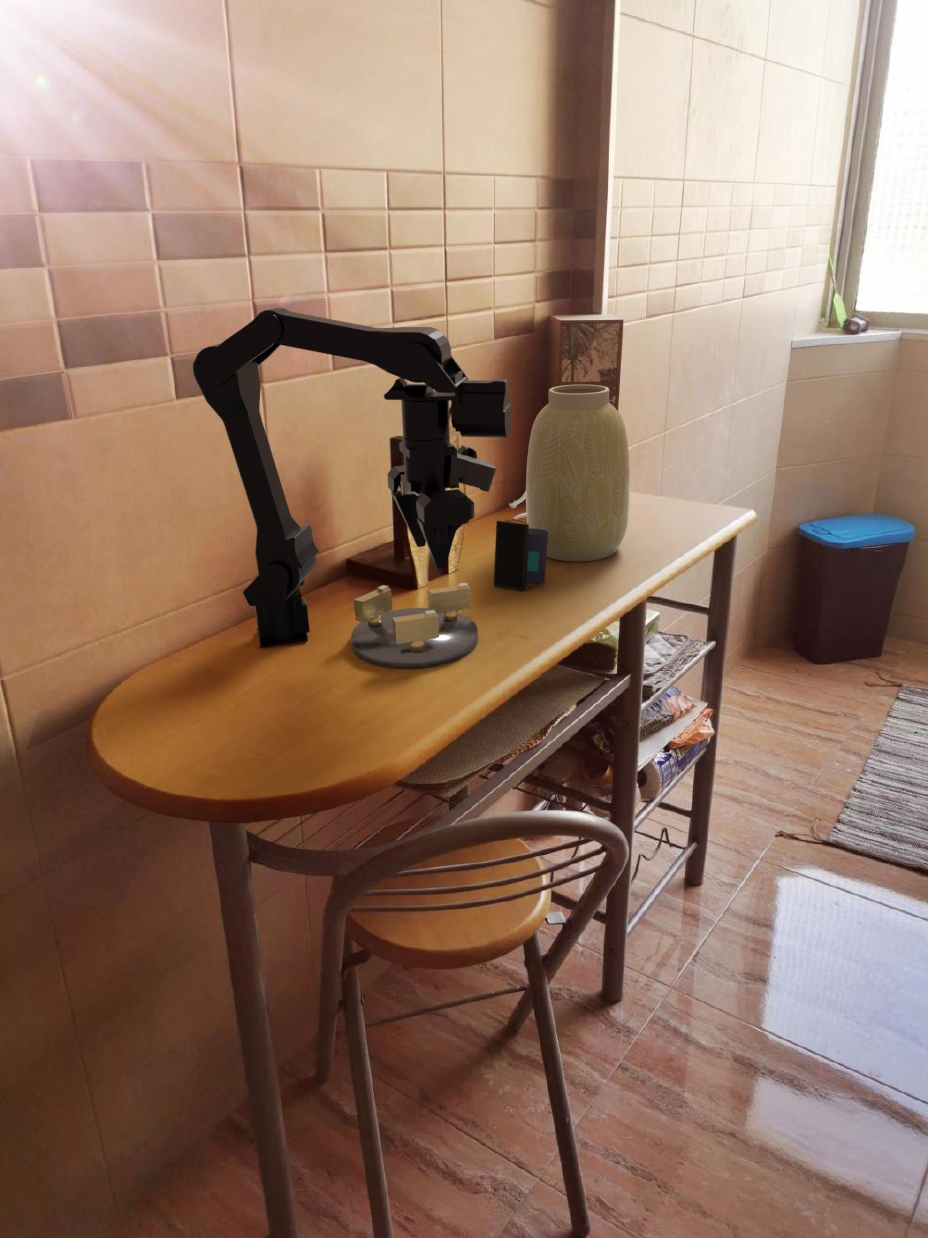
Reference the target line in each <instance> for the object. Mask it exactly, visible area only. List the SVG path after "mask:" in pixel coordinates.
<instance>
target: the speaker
mask: <svg viewBox="0 0 928 1238" xmlns="http://www.w3.org/2000/svg"><path fill="white" fill-rule="evenodd" d="M495 526H496V528H495V547H494V563H493V564H494V568H493V588H499V589H504V590H505V589H506V590H511V591H517V592H523V593H524V592H526V586H538V585H543V584H545V583H546V572H547V571H546V569H547V568H546V567H547V558H548V557H547V543H548V532H547V531H546V530H541V529H533V528H529V524H527V523H520V522H512V521H506V520H505V521H503V520H496V525H495Z"/></svg>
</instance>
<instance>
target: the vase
mask: <svg viewBox="0 0 928 1238" xmlns="http://www.w3.org/2000/svg"><path fill="white" fill-rule="evenodd" d="M621 415H622V414H620V412H619V410H618V409H616V407H615V406H614V405H613V404H611V403H610V388H609V387H606V386H603V385H597V384H566V385H565V384H564V385H558V386H554V387H551V388H549V389H548V403H547V404H546V405H545V406H544V407H543V408H542V409H541V410H540V411H539V413H538V414H537V415H536V416H535V417H536V418H535V419H534V422H533V424H532V428H531V431H530V435H529V443H528V449H527V451H528V452H527V457H526V458H527V460H526V475H525V476H526V477H525V478H526V480H525V481H526V482H525V492H526V499H525V510H526V512H525V513H526V524H529V528H533V529H541V530H546V531H547V532H548V543H547V557H546V558H550V559H552V560H557V561H564V562H591V561H598V560H601V559H602V560H603V559H605V558H608V557H611V556H612V555H613V554H615V553H616V552H617V550H618V549H619V547H620V545H621V543H622V541H623V540H624V538H625V535H626V533H627V529H628V525H629V517H630V516H629V514H630V500H631V494H630V493H631V476H630V475H631V474H630V473H631V471H630V468H631V467H630V451H629V444H628V443H629V441H628V436H627V430H626V425H625V422H624V420H623V417H622V416H621Z"/></svg>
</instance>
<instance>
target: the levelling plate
mask: <svg viewBox="0 0 928 1238" xmlns="http://www.w3.org/2000/svg"><path fill="white" fill-rule="evenodd" d="M425 611H429V607H410V608H409V607H408V608H400V609H393V610H391V611H389V612H387V613H384V614H382V624H383V625H382V626H381V627H378V628H371V627H368V621H367V622H365V623H363V622H360V623H358V624H357V625H356V626H355V627H354V628H353V629H352V632H351V634H350V635H351V636H350V640H351V649H352V652H353V651H354V652H353V654H354V653H355V654H354V655H355V656H356V657H357V658H358V659H360V660H361V661H363V660H364V661H363V662H365V663H367V664H370V665H374V666H376V665H377V667H380V666H381V668H385V669H392V668H393V670H394V669H395V670H420V669H429V668H437V667H439V666H440V667H441V666H443V665H448V664H451V663H454V662H456V661H459V660H460V658H461V659H462V658H465V657H466V656H468V655H469V654H470V653H472V652H473V651H474V650H475V649H476V647H477V644H478V643H479V635H478V634H479V633H478V632H479V631H478V626H477V624H476V622H475V621H474V620H473V619H471V618H470V617H469V616H467V615H465V614H463V613H460V612H457V616H458V620H457V621H455V622H445V621H443V613H437V615H438V622H439V638H435V639H428V640H425V650H424V651H422V652H411V651H410V650H409V642H407V643H401V644H396V642H395V640H394V634H393V620H392V618H394V617H401V616H408V615H415V614H422V613H425ZM386 667H387V668H386Z"/></svg>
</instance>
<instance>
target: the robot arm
mask: <svg viewBox="0 0 928 1238" xmlns="http://www.w3.org/2000/svg"><path fill="white" fill-rule="evenodd" d="M280 346H284V347H289V348H294V349H299V350H305V351H309V352H314V353H315V352H316V353H318V354H319V353H321V354H324V355H325V354H326V355H331V356H335V357H341V358H346V359H351V360H357V361H360V362H361V361H362V362H365V363H368V364H370V365H374V366H375V367H377V368H378V369H381V370H383V371H385V372H386V373H387V374H390V375H393V376H396V377H398V378H397V379H395V380H394V383H393V385H392V386H391V387H390V389H389V390H388V391H387V392H385V393H384V394H383V398H384V400H387V401H401V404H400V405H401V418H402V419H401V420H402V421H401V423H402V440H403V441H400V442H399V444H398V445H399V451H400V452H401V453H402V454H403V462H404V463H403V464H404V465H396V466H393V467H392V468H391V469H389V471H388V473H387V488H388V489H390V491H391V493H390V494H391V496H392V497H393V499H394V501H395V503H396V505H397V508H398V510H399V512H400V513H401V515H402V518H403V520H404V522H405V524H406V526H407V528H408V530H409V532H410V535H411V537H412V538H413V541H414V543H415V545H416V547H418V548H421V547H422V548H423V547H425V546H426V545H427V548H428V550H429V553H430V555H431V558H432V561H433V562H434V565H435V567H436V569H438V570H440V569H445V568H447V565H448V560H449V557H450V553H451V550H452V547H453V546H452V545H453V542H454V539H455V536H456V532H457V531H458V530H459V529H460V528H461V527H462V526H463V525H465V524H468V523H469V522H470V521H471V520H473V519H475V502H474V501H473V500H472V499H471V498H470V497H469V496H467V495H466V494H465V493H463V492H462V490H460V484H462V485H466V486H469V487H473V488H476V489H479V490H480V491H482V492H486V493H489V492H490V490H491V487H492V484H493V480H494V477H495V474H496V471H497V467H496V466H494V465H493V464H491V463H490V462H488V461H485V460H484V459H482V458H478V454H477V450H475V449H474V448H473V447H471V446H467V445H462V444H461V446H460V447H459V448H458V449H457V447H456V446H455V445H454V444H452V443H451V438H450V437H451V436H450V435H451V434H450V433H451V432H450V431H451V430H450V421H451V425H452V428H453V429H455V432H456V433H457V432H459V433H460V436H461V437H462V438H500V439H503V438H505V439H506V438H507V439H509V437H510V434H511V430H512V422H513V421H512V419H513V417H512V416H513V415H512V414H513V405H512V403H511V396H510V392H509V380H508V379H507V378H496V379H490V380H475V379H474V380H472V379H471V380H469V377H468V376H467V374H466V373H465V371H464V370H463V369H462V367H461V366H460V364H458V362H457V361H456V359H455V358H454V357H453V356H452V347H451V344H450V341H449V340H448V338H447V336H446V335H445V334H444V332H443V331H441V330H440V329H438V328H435V327H432V326H397V327H373V326H369V325H363V324H357V323H353V322H347V321H341V320H336V319H332V318H325V317H321V316H316V315H312V314H311V315H310V314H305V313H299V312H294V311H290V310H288V309H286V308H283V307H275V308H270V309H265V310H262V311H261V312H259V313H258V314H257V315H256V317H255V318H254V319H253V320H251V321H250V322H248V324H246V325H245V326H243V327H242V328H240V329H239V330H237V331H236V332H234V334H232V335H231V336H229V337H228V338H226V339H225V340H223V342H220V343H216V344H214V345H209V346H207V347H204V348H202V349H201V350H200V351H199V352H198V353H197V354H196V356H195V359H194V360H193V362H192V373H193V376H194V379H195V381H196V384H197V385H198V388H199V389H200V392H201V393H202V395H203V397H204V400H205V401H206V403H207V404H208V405H209V406H210V408H211V409H212V410H213V411H214V412H215V413H216V415H217V416H218V417H219V418H220V419H221V421H222V423H223V425H224V429H225V432H226V435H227V438H228V441H229V444H230V447H231V451H232V454H233V457H234V461H235V463H236V467H237V469H238V473H239V476H240V479H241V482H242V485H243V489H244V491H245V495H246V497H247V498H246V499H247V501H248V504H249V507H250V510H251V513H252V516H253V519H254V524H255V526H256V538H255V551H254V552H255V553H254V554H255V560H256V561H255V562H256V566H257V576H256V577H255V578H254V579H253V581H251V583H250V584H249V585H248V586H247V587H246V588H245V589H244V590H243V592H242V593H243V596H244V597H245V600H246V601H247V604H248V605H249V606H250V607H254V610H255V611H254V612H255V619H256V626H257V627H256V635H257V639H258V643H259V648H261V649H265V648H267V649H268V648H272V647H279V646H287V645H293V644H299V643H306V642H308V641H309V636H308V633H309V632H310V631H311V630H310V622H309V612H308V605H307V601H306V600H305V598H302V594H301V593H302V592H301V590H300V588H301V587H303V586H304V585H305V581H306V579H307V578H308V576H309V575H311V573H312V572H313V571H314V569H315V567H316V564H317V557H316V555H317V554H318V553H320V550H319V549H318V548H317V546H316V544H315V542H314V538H313V531H312V527H311V525H309V524H306V525H304V526H302V527H301V526H300V525H299V524H298V523H297V522H296V520H295V519H294V518H293V516H292V514H291V512H290V508H289V506H288V505H289V504H288V502H287V499H286V496H285V495H286V494H285V493H284V492H285V491H284V489H283V486H282V482H281V478H280V474H279V472H278V468H277V466H276V462H275V458H274V456H273V453H272V449H271V445H270V442H269V438H268V436H267V433H266V429H265V425H264V423H263V419H262V416H261V413H260V412H261V411H260V405H261V404H260V401H261V391H262V390H261V389H262V388H261V387H262V384H261V377H260V371H259V366H260V365H261V364H262V363H264V362H265V361H266V360H268V359H269V358H270V357H271V356H273V354H274V352H276V351H277V349H279V347H280ZM408 381H409V382H411V383H409V382H408ZM450 402H451V403H450ZM449 404H450V405H451V406H450V405H449ZM447 489H449V490H447Z"/></svg>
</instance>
